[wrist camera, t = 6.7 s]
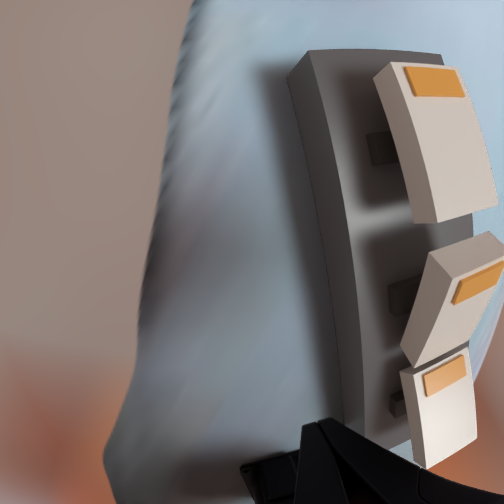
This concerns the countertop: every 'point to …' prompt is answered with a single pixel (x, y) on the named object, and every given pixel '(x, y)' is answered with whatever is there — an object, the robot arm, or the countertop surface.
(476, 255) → the block
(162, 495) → the countertop surface
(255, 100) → the countertop surface
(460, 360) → the rocker
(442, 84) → the rocker
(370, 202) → the rocker switch panel
